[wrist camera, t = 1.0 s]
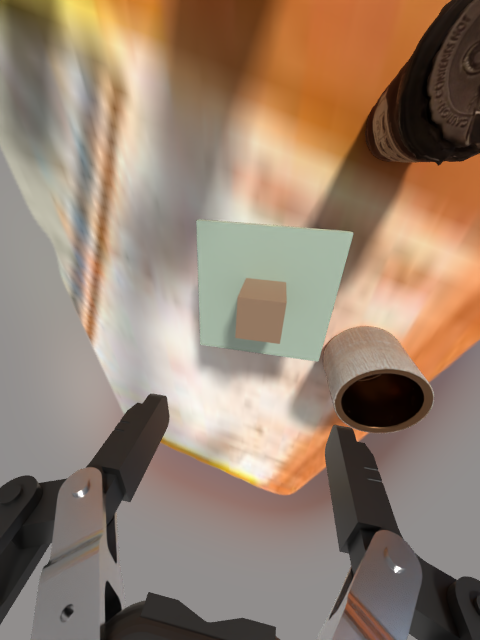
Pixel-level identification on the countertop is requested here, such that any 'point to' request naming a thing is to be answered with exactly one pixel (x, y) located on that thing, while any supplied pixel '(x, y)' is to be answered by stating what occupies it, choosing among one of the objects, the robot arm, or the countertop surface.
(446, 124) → the coffee cup
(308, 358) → the lid
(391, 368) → the planter
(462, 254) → the countertop surface
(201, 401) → the countertop surface
